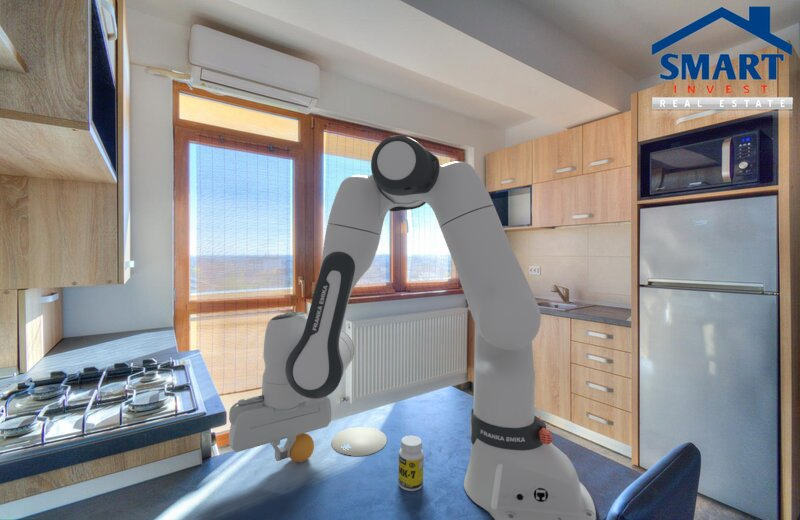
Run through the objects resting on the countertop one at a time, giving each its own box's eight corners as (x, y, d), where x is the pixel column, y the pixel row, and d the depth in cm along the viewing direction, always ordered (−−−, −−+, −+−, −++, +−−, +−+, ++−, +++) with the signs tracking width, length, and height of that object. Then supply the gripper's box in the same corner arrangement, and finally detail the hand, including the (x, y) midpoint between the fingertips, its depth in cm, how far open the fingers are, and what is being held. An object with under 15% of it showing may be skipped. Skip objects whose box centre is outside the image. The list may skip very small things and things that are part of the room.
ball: (307, 468, 74) (322, 443, 77) (297, 467, 70) (313, 441, 72) (288, 453, 76) (304, 429, 79) (277, 451, 72) (294, 426, 74)
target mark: (393, 431, 87) (393, 430, 87) (376, 460, 75) (376, 459, 75) (345, 424, 90) (345, 424, 90) (321, 451, 78) (321, 450, 78)
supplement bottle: (393, 487, 66) (394, 442, 66) (405, 473, 70) (405, 431, 70) (416, 495, 64) (417, 449, 64) (427, 481, 68) (427, 437, 68)
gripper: (233, 407, 63) (230, 484, 63) (336, 386, 75) (333, 450, 75) (226, 396, 68) (223, 467, 68) (323, 378, 80) (321, 437, 80)
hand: (282, 458), depth 72 cm, fingers closed
